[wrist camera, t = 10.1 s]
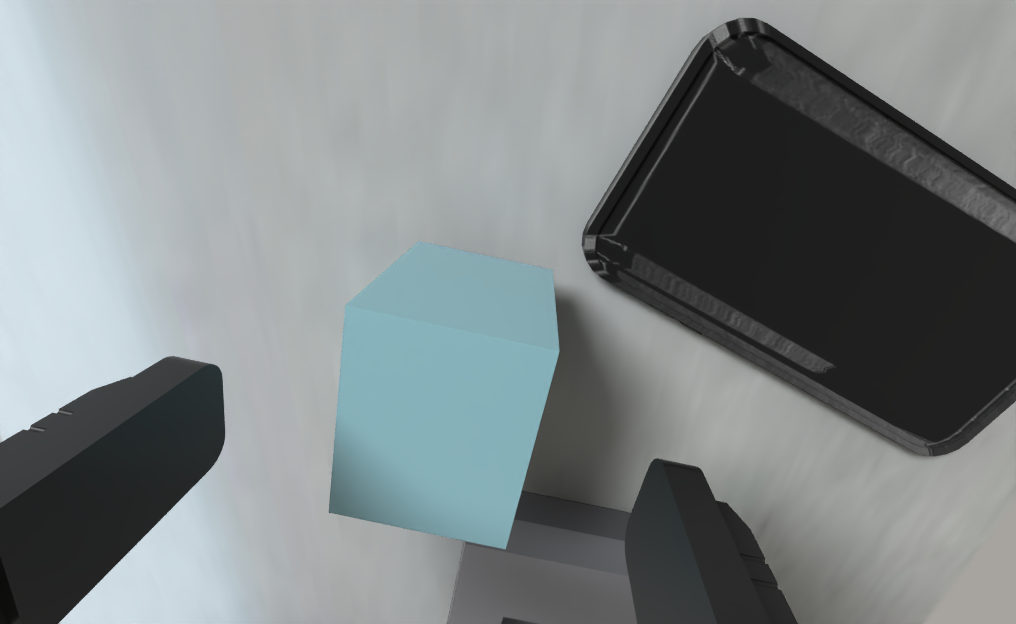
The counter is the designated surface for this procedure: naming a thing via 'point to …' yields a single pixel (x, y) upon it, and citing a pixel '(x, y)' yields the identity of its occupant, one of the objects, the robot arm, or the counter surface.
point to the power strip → (548, 569)
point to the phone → (820, 239)
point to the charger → (443, 393)
